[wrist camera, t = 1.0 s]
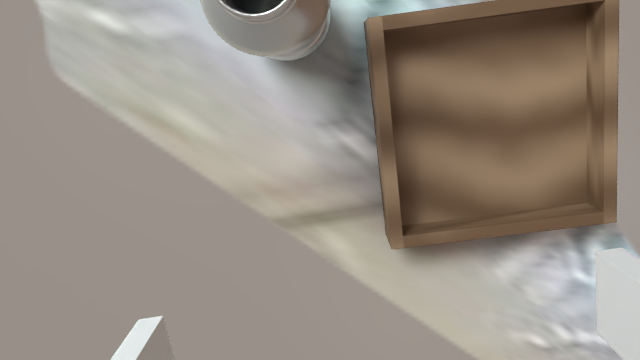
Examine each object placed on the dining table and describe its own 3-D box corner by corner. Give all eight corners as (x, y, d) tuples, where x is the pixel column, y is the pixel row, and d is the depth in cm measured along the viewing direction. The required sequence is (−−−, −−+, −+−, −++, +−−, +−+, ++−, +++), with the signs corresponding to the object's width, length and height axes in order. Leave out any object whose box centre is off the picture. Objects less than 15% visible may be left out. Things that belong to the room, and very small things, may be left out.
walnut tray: (363, 22, 38) (368, 18, 35) (592, -9, 38) (619, -17, 34) (386, 234, 42) (391, 249, 39) (592, 209, 42) (616, 222, 38)
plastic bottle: (326, 64, 39) (331, 62, 19) (243, 57, 39) (164, 49, 19) (333, -21, 37) (346, -115, 18) (246, -28, 37) (165, -130, 18)
